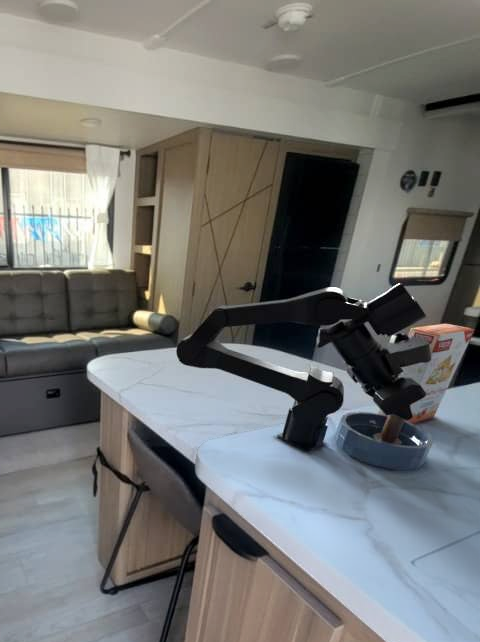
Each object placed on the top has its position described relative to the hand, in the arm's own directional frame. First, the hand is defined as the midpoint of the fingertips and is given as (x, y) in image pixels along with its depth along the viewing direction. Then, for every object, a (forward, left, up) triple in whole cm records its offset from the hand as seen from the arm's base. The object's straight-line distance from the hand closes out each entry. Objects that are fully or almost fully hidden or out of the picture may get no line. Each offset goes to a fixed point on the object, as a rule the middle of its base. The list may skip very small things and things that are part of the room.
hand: (406, 415), depth 74 cm
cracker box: (-6, +22, -9) cm, 24 cm away
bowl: (-2, -1, -8) cm, 9 cm away
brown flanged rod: (-1, -1, -7) cm, 7 cm away
